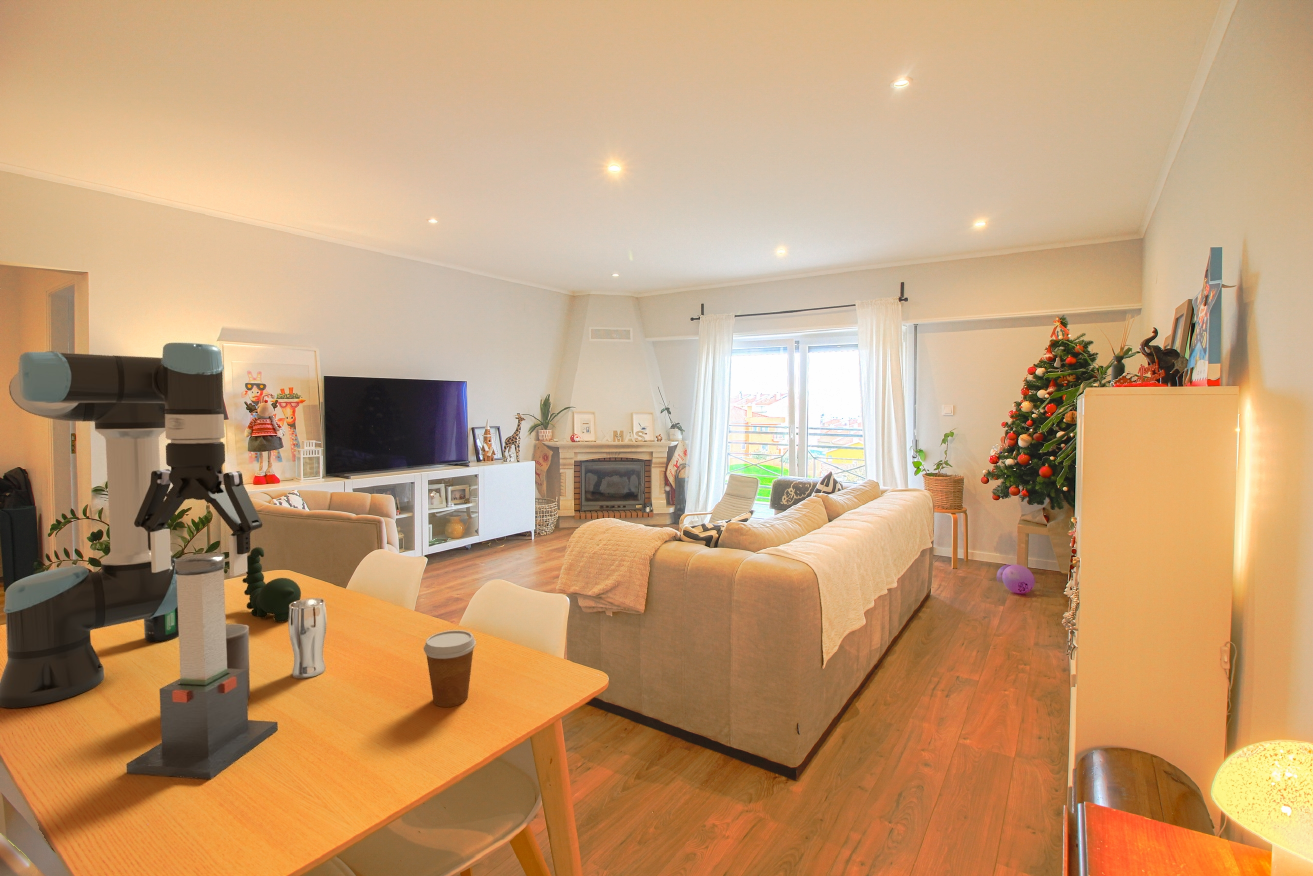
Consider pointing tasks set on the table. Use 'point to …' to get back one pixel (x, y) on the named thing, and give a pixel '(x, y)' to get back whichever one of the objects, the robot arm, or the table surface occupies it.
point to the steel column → (201, 618)
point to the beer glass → (307, 636)
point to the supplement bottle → (162, 627)
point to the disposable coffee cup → (450, 666)
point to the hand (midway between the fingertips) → (199, 572)
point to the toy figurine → (268, 590)
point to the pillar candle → (238, 649)
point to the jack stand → (203, 729)
